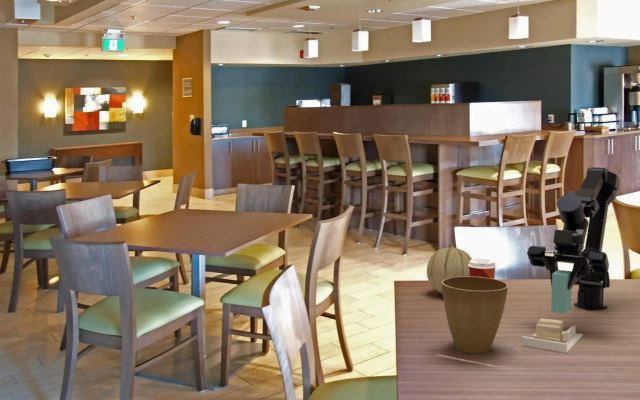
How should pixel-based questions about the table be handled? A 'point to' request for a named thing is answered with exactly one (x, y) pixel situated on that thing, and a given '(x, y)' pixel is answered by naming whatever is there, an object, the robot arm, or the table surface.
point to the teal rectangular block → (560, 292)
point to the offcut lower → (560, 339)
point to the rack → (552, 345)
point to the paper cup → (482, 268)
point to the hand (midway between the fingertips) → (560, 287)
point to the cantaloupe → (447, 266)
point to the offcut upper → (549, 328)
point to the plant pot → (474, 311)
